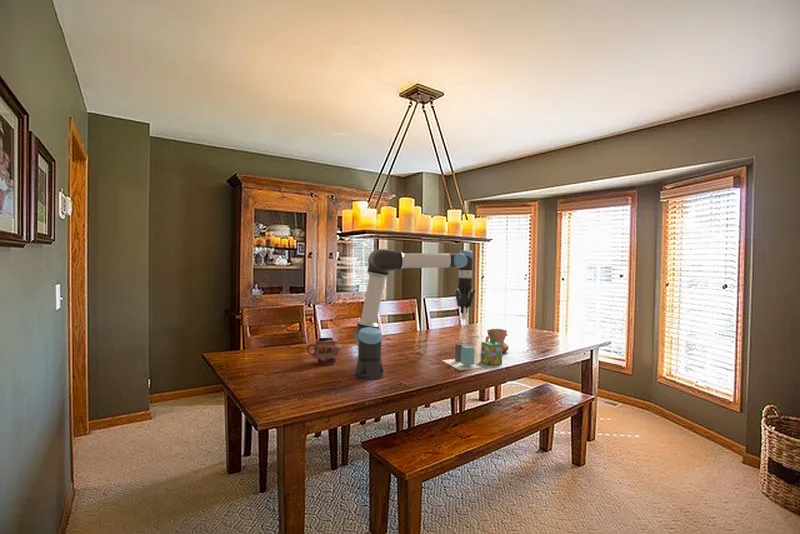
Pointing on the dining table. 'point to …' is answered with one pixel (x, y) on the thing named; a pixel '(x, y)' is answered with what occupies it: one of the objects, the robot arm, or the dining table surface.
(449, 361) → the board
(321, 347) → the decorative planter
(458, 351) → the black post
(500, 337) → the ceramic jug
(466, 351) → the teal rectangular block
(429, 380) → the dining table surface
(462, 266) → the robot arm
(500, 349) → the chalk box
